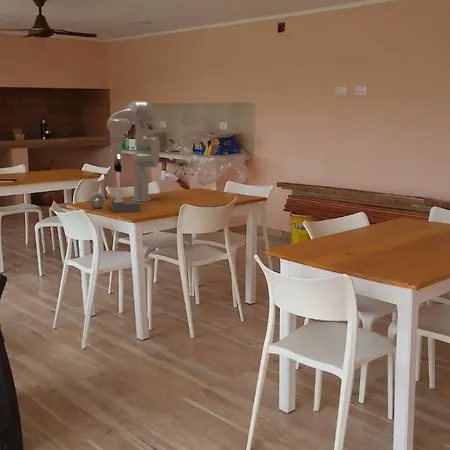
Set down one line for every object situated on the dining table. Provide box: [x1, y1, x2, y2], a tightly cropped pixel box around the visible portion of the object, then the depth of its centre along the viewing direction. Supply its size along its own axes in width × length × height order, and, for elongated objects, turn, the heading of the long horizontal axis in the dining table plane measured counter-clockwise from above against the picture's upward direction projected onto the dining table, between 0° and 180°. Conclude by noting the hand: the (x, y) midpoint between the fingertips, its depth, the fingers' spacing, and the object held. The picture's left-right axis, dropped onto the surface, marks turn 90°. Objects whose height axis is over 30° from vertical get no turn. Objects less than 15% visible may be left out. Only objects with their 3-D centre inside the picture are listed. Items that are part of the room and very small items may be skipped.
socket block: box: [110, 199, 141, 214], centre depth 366 cm, size 11×16×6 cm
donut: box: [88, 191, 105, 209], centre depth 372 cm, size 10×4×10 cm, turn 128°
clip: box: [105, 192, 116, 201], centre depth 372 cm, size 2×15×2 cm, turn 22°
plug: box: [114, 188, 125, 204], centre depth 364 cm, size 6×6×13 cm
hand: (117, 170), depth 361 cm, fingers open, 7 cm apart
